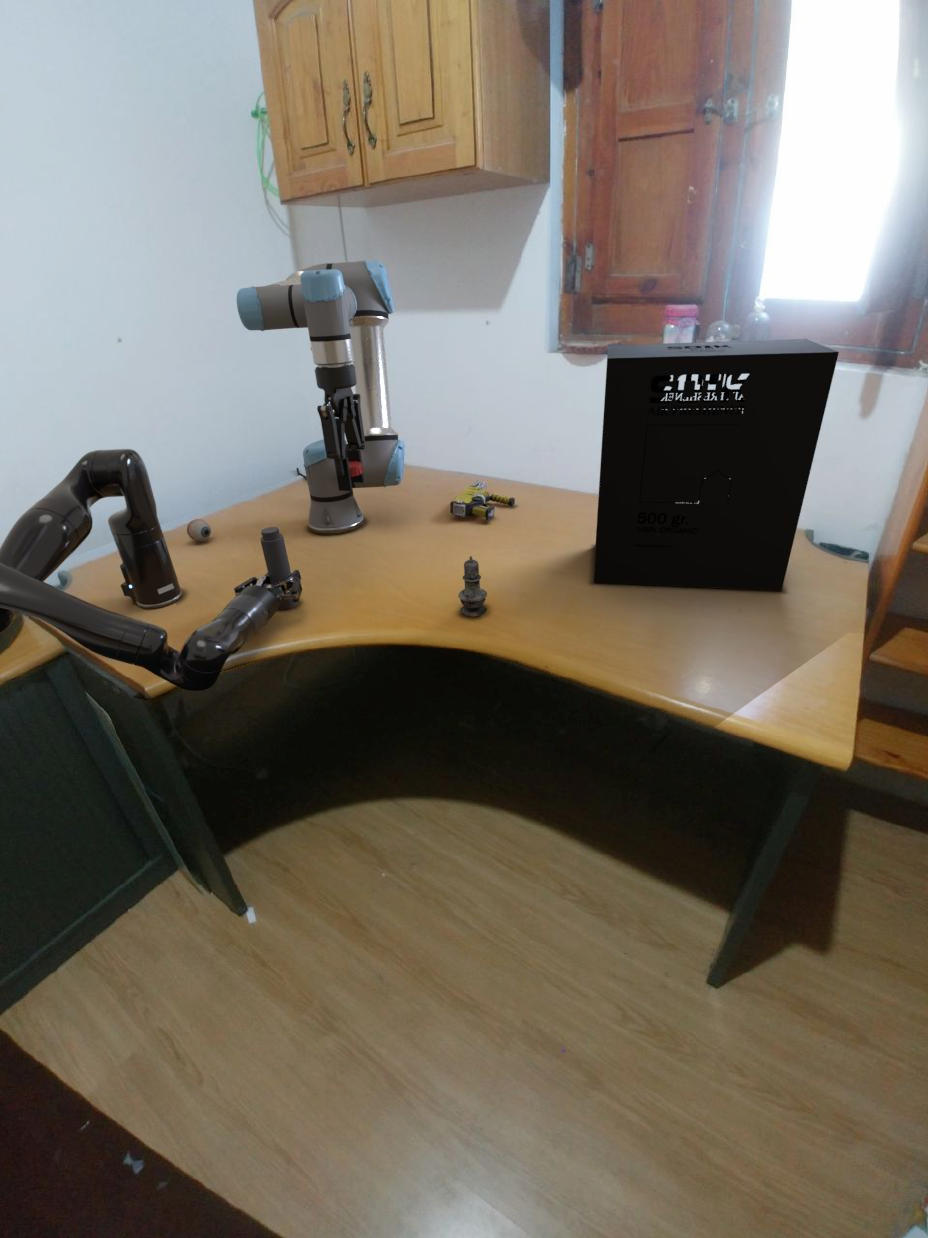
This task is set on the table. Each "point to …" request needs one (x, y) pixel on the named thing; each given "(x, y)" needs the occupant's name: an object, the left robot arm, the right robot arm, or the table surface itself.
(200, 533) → the eyeball
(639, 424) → the cardboard box
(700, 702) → the table surface
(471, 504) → the toy gun
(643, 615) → the table surface
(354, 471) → the lid
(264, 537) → the bottle
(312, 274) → the right robot arm
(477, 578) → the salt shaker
